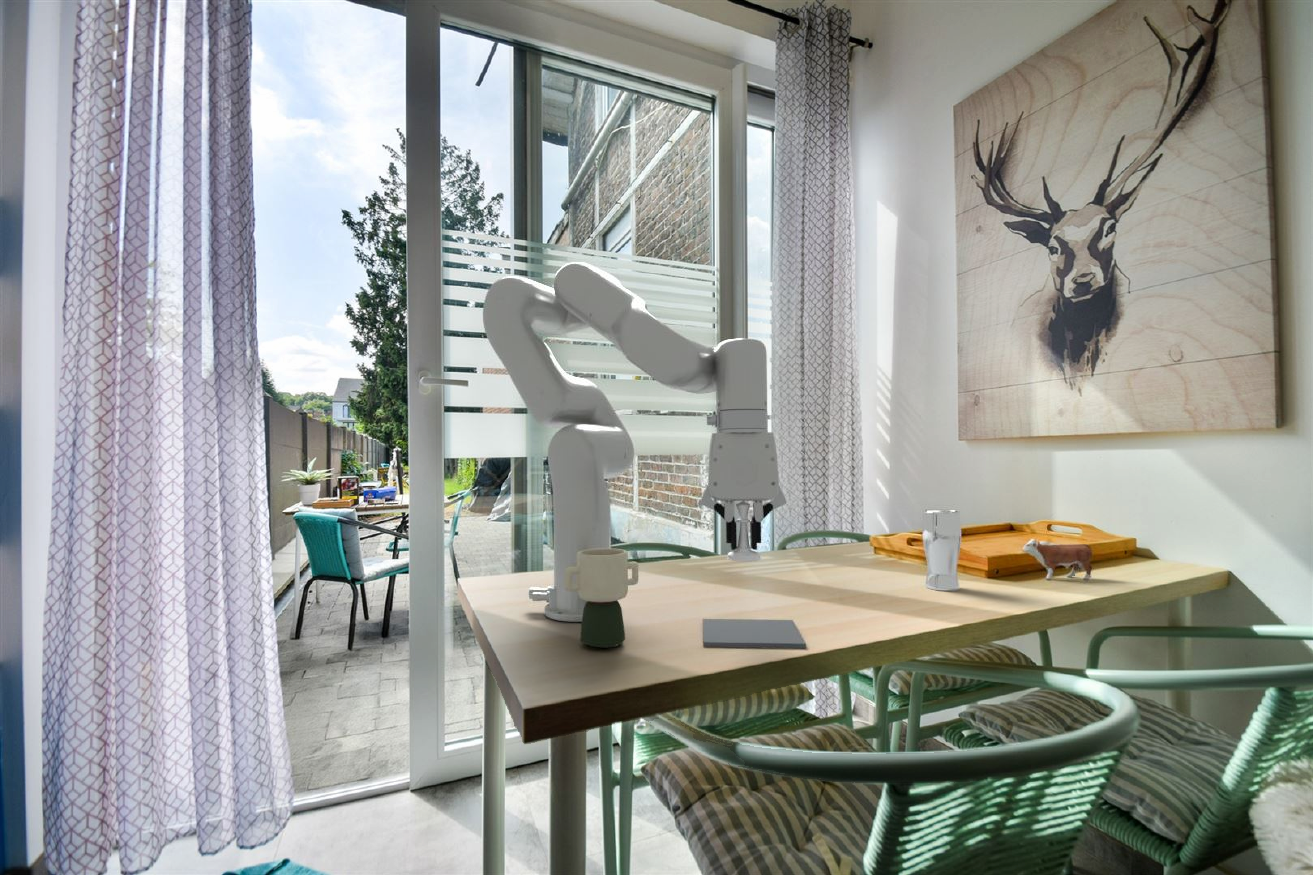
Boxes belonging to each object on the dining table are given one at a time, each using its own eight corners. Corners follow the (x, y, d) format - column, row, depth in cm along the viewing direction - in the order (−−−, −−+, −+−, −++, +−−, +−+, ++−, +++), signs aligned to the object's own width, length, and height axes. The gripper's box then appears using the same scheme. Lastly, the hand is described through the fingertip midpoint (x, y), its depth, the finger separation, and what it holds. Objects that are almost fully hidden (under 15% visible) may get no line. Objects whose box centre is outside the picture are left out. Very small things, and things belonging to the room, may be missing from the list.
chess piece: (760, 562, 89) (759, 491, 89) (725, 561, 90) (724, 491, 90) (761, 556, 93) (760, 489, 94) (728, 555, 94) (727, 489, 95)
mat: (703, 646, 86) (703, 642, 86) (702, 622, 98) (702, 618, 98) (806, 648, 85) (805, 643, 85) (792, 623, 97) (792, 619, 97)
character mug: (629, 633, 92) (628, 545, 92) (648, 647, 86) (648, 552, 86) (557, 643, 88) (557, 550, 88) (572, 658, 81) (572, 558, 81)
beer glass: (916, 587, 122) (915, 511, 122) (932, 582, 126) (931, 508, 127) (953, 593, 117) (951, 513, 117) (968, 587, 121) (966, 510, 122)
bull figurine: (1019, 575, 133) (1018, 537, 133) (1087, 577, 131) (1087, 538, 131) (1029, 579, 129) (1028, 540, 129) (1099, 581, 127) (1098, 541, 127)
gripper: (687, 423, 89) (688, 552, 88) (800, 421, 88) (803, 552, 87) (688, 425, 96) (689, 544, 96) (792, 424, 95) (794, 544, 95)
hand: (743, 547), depth 92 cm, fingers closed on chess piece
